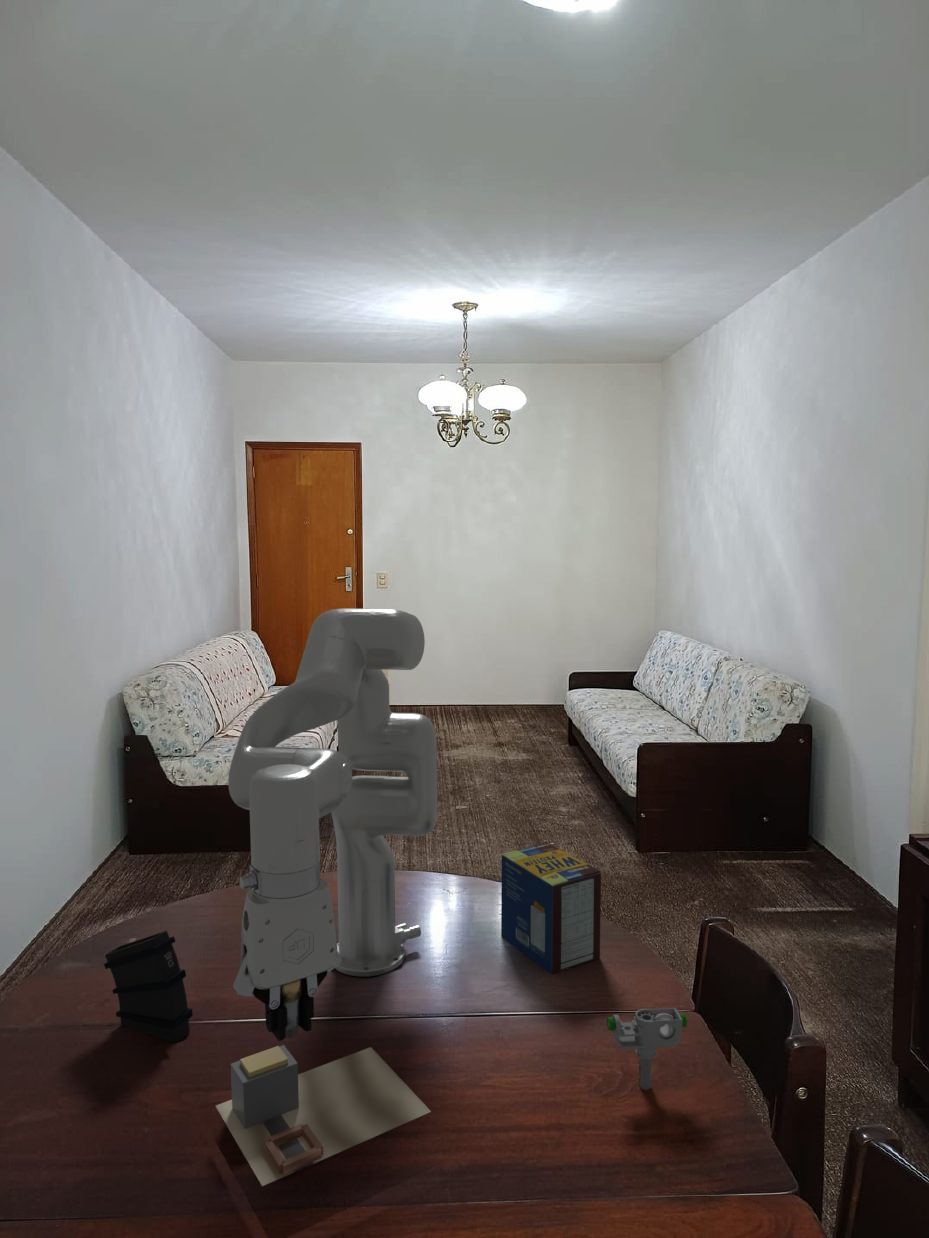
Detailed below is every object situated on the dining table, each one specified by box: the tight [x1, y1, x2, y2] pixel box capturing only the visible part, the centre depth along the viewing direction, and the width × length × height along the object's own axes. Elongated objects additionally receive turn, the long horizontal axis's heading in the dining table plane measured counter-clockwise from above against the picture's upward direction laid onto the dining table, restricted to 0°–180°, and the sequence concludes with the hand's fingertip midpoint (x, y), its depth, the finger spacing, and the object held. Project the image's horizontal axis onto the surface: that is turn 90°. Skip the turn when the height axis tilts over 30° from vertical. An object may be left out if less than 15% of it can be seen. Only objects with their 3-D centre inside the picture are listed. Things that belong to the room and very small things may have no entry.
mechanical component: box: [606, 1007, 688, 1091], centre depth 117 cm, size 3×10×10 cm, turn 95°
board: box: [215, 1046, 432, 1187], centre depth 112 cm, size 22×16×2 cm
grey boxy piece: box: [230, 1044, 299, 1129], centre depth 111 cm, size 7×4×7 cm, turn 123°
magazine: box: [103, 930, 193, 1044], centre depth 130 cm, size 4×13×15 cm, turn 64°
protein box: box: [500, 842, 602, 975], centre depth 154 cm, size 10×15×16 cm
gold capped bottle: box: [280, 979, 302, 1039], centre depth 102 cm, size 3×3×7 cm
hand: (290, 1028), depth 102 cm, fingers closed on gold capped bottle, 2 cm apart
